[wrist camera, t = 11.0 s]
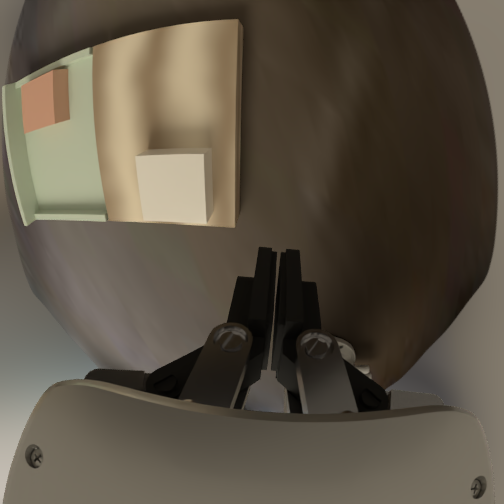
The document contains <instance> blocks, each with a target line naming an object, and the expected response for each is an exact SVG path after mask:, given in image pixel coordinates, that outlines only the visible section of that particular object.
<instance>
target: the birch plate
mask: <svg viewBox="0 0 504 504" xmlns="http://www.w3.org/2000/svg"><path fill="white" fill-rule="evenodd" d="M242 56H243V26H242V24H241V23H240V21H239V19H231V20H215V21H204V22H195V23H188V24H181V25H174V26H169V27H163V28H158V29H153V30H149V31H144V32H140V33H136V34H132V35H129V36H125V37H121V38H118V39H115V40H111V41H108V42H105V43H102V44H99V45H96V46H93V59H92V88H93V111H94V125H95V136H96V146H97V154H98V162H99V169H100V175H101V182H102V187H103V193H104V199H105V204H106V209H107V214H108V218H109V221H127V222H149V223H168V224H186V225H202V226H218V227H233V228H235V226H236V223H237V220H238V217H239V214H240V140H241V92H242ZM170 148H212V184H213V213H212V215H211V217H210V219H209V221H208V222H207V224H198V223H181V222H162V221H144V220H143V214H142V207H141V201H140V193H139V186H138V178H137V170H136V160H135V156H136V155H138V154H140V153H142V152H144V151H146V150H150V149H170Z"/></svg>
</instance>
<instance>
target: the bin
mask: <svg viewBox="0 0 504 504" xmlns="http://www.w3.org/2000/svg"><path fill="white" fill-rule="evenodd" d="M92 59H93V48H91V47H89V48H87V49H84V50H81V51H79V52H76V53H74V54H71V55H69V56H67V57H64V58H62V59H60V60H58V61H56V62H54V63H51V64H49V65H47V66H45V67H43V68H41V69H39V70H37V71H36V72H34V73H32V74H30V75H28V76H26V77H25V78H23V79H21V80H19V81H18V82H16V83H12V84H8V85H4V86H3V87H2V103H3V120H4V131H5V140H6V147H7V154H8V160H9V166H10V171H11V176H12V181H13V185H14V190H15V194H16V198H17V202H18V205H19V209H20V212H21V216H22V219H23V223H24V226H28V225H29V224H31V223H32V222H33V221H34V220H36V219H40V220H78V221H107V220H108V219H109V218H108V214H107V209H106V204H105V199H104V193H103V187H102V182H101V175H100V169H99V162H98V154H97V146H96V136H95V125H94V111H93V88H92ZM59 69H68V91H69V112H70V120H66V121H63V122H59V123H56V124H53V125H49V126H46V127H43V128H40V129H37V130H34V131H31V132H28V133H26V134H24V128H23V116H22V98H21V86H22V85H24V84H26V83H28V82H30V81H31V80H33V79H35V78H37V77H39V76H41V75H43V74H45V73H47V72H50V71H52V70H59Z"/></svg>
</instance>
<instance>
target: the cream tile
mask: <svg viewBox="0 0 504 504" xmlns="http://www.w3.org/2000/svg"><path fill="white" fill-rule="evenodd" d="M135 160H136V170H137V178H138V186H139V193H140V201H141V207H142V214H143V220H144V221H162V222H181V223H198V224H207V222H208V221H209V219H210V217H211V215H212V213H213V184H212V148H170V149H150V150H146V151H144V152H142V153H140V154H138V155H136V156H135Z"/></svg>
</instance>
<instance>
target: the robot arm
mask: <svg viewBox="0 0 504 504" xmlns="http://www.w3.org/2000/svg"><path fill="white" fill-rule="evenodd" d="M276 260H277V252H273V251H272V248H267V247H259V250H258V257H257V263H256V270H255V276H254V278H252V277H241V276H238V277H237V281H236V285H235V290H234V294H233V298H232V302H231V307H230V311H229V315H228V320H227V323H223V324H221V325H218V326H217V327H215V328H214V329H213V330H212V331H211V333H210V334H209V336H208V338H207V340H206V342H205V344H204V346H202V347H200V348H198V349H196V350H195V351H193V352H191V353H189V354H187V355H185V356H183V357H181V358H179V359H177V360H175V361H173V362H171V363H169V364H167V365H165V366H163V367H161V368H159V369H157V370H155V371H154V372H152V373H145V371H135V370H114V369H94V370H92V371H90V372H89V373H88V374H87V375H86V376H85V378H84V379H74V380H65V381H61V382H57V383H55V384H53V385H52V386H50V387H49V388H48V389H47V390H46V391H45V392H44V394H43V395H42V396H41V398H40V399H39V401H38V402H37V404H36V406H35V408H34V409H33V412H32V413H31V415H30V417H29V419H28V422H27V424H26V426H25V428H24V430H23V433H22V435H21V438H20V441H19V443H18V446H17V449H16V452H15V455H14V458H13V461H12V464H11V468H10V471H9V475H8V480H7V484H6V488H5V493H4V499H3V504H495V492H494V478H493V468H492V462H491V457H490V451H489V447H488V443H487V439H486V436H485V433H484V430H483V427H482V425H481V423H480V421H479V419H478V418H477V417H476V416H475V415H474V414H473V413H471V412H470V411H468V410H465V409H462V408H458V407H454V406H447V405H444V403H443V401H442V400H441V398H439V397H438V396H437V395H434V394H426V393H416V392H408V391H400V390H391V391H390V392H388V391H385V390H384V389H383V388H382V387H381V386H380V385H378V384H377V383H376V382H374V381H373V380H372V379H371V372H369V365H360V366H355V364H354V362H355V352H354V349H353V347H352V345H351V344H349V343H348V342H347V341H345V340H343V339H341V338H338V337H334V336H333V335H332V334H330V333H328V332H327V331H324V330H321V321H320V312H319V303H318V294H317V286H316V283H315V282H304V281H302V278H301V263H300V251H299V250H292V249H286V252H281V256H280V266H279V276H278V285H277V294H276V303H275V319H274V335H273V350H272V364H271V370H273V371H276V378H277V381H278V382H280V383H281V384H282V385H283V386H284V387H285V388H284V412H283V413H275V412H261V411H250V410H243V409H244V406H245V403H246V400H247V397H248V394H249V391H250V385H252V384H253V383H255V382H256V381H258V380H259V379H260V375H261V370H267V364H268V356H269V348H270V340H271V332H272V324H273V312H274V296H275V278H276Z"/></svg>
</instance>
